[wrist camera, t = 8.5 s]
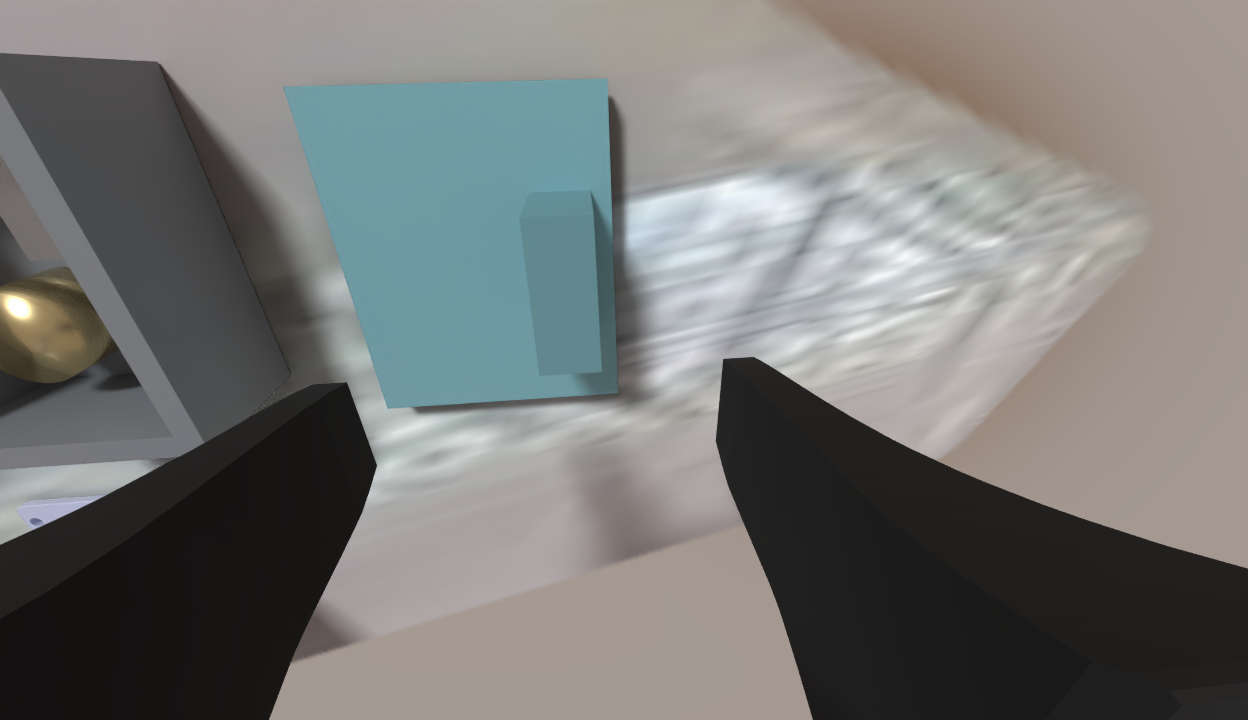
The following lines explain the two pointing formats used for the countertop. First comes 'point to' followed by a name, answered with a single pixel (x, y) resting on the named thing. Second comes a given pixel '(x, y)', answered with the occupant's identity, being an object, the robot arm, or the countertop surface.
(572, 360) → the lid
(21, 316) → the brass knob
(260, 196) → the countertop surface
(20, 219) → the steel block
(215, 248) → the tub
